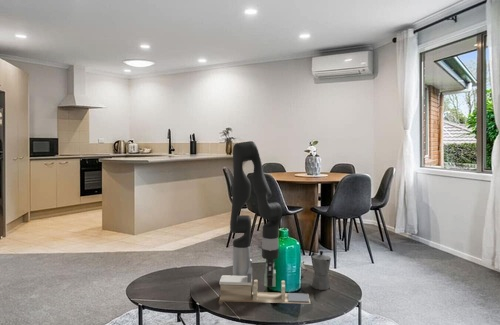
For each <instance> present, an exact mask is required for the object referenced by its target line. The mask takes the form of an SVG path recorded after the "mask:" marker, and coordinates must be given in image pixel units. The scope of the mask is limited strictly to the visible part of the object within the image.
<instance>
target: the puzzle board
mask: <svg viewBox="0 0 500 325" xmlns="http://www.w3.org/2000/svg"><path fill="white" fill-rule="evenodd" d="M258 282H259V281H258V279H254V280H253V281H252V282H251V285H223V284H220V297H219V299H218V305H223V303H224V302H235V303H237V302H238V303H239V302H240V303H241V302H243V303H267V304H269V303H270V304H271V303H272V304H274V303H275V304H276V303H277V304H301V305H311V299H310V294H309V293H307V294H308V298H309V302H288V293H289V292H286V281H285V280H281V289H280V292H266V291H265V292H262V291H258V286H259V285H258ZM299 294H304V293H303V292H302V293H299Z"/></svg>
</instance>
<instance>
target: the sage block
mask: <svg viewBox="0 0 500 325" xmlns="http://www.w3.org/2000/svg"><path fill="white" fill-rule="evenodd" d="M276 271H277V270H276V269H274V273H273V279H272V287H277V286H276V284H277V283H276V282H277V281H276V279H277V278H276V275H277V272H276ZM263 275H264V278H263V280H264V281H263V282H264V283H263V286H264V287H268V286H267V273H266V268H264V273H263ZM268 276H272V274H268ZM272 287H271V288H272Z"/></svg>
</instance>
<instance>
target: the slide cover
mask: <svg viewBox="0 0 500 325" xmlns="http://www.w3.org/2000/svg"><path fill="white" fill-rule="evenodd" d="M251 282H252V283H253V266H252V267H249V270H248V276H233V274H232V275H227V274H225V275H221V277H220V280H219V283H218V284H219V285H221V284H223V285H251Z"/></svg>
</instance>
